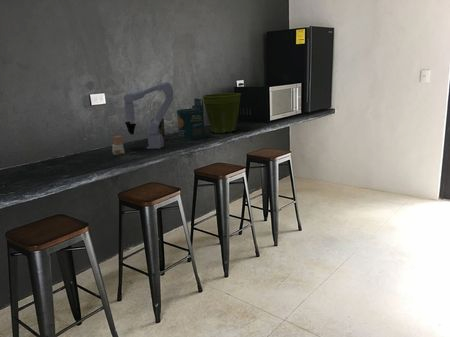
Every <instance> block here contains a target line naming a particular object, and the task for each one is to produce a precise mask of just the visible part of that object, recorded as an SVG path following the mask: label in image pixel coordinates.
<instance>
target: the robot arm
mask: <svg viewBox="0 0 450 337" xmlns="http://www.w3.org/2000/svg"><path fill="white" fill-rule="evenodd" d="M156 91H159V92H163V93H164V96H165V99H164V101H163V102H162V104H161V106H160V108H159V110H158V111H157V114H156V115H155V117H154V118H153V119H154V120H153V122H152V123H151V122H150V123H149V124H148V126H147V129H146V130H147V142H148V146H147V147H146V149H161V148H163V147H165V144H164V141H163V136H162V134H159V133H158V132H157V129H158V126H159V124H160V122H161V120H162V119H163V118H164V117H165V114H167V112H168V110H169V107H170V106H171V105H172V103H173V101H174V98H175V96H174V89H173V87H172V84H171V83H170V82H168V81H165V82H161V83H156V84H154V85H151V86H149V87H146V88H145V89H142V88H136V89H135V90H133V91H129V93H126V94H124V95H123V101H124V115H125V116H124V117H125V119H123V122H124V123H125V125H126V126H125V127H126V128H127V131H128V133H129V134H130V135H135V129H136V125H137V123H135V121H136V119H135V107H134V101H138V100H140V99H143V98H145V96H146V95H147V94H150V93H152V92H156Z"/></svg>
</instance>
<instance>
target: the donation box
mask: <svg viewBox="0 0 450 337" xmlns="http://www.w3.org/2000/svg"><path fill="white" fill-rule="evenodd" d="M193 101H194V105H191V108H182V109H177V110H176V115H177V125H178V126H177V127H178V140H180V141H185V142H191V141H198V139H199V140H205V139H204V138H206V134H205V118H204V113H205V112H204V108H205V107H204V100H203V98H202V99H201V98H197V97H196V98H195V97H194V99H193Z"/></svg>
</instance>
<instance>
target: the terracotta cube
mask: <svg viewBox="0 0 450 337" xmlns="http://www.w3.org/2000/svg"><path fill="white" fill-rule="evenodd" d="M111 138H112V145H121V144H123V145H124V139H123V135H115V136H112V137H111Z"/></svg>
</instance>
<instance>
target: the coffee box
mask: <svg viewBox="0 0 450 337" xmlns="http://www.w3.org/2000/svg"><path fill="white" fill-rule="evenodd" d="M164 119H165V118H164V117H163V119H162V120H161V122H160V124H159V126H158V129H157V132H158V133H159V134H162V136H163V142H164V141H166V130H165V129H166V128H165V120H164ZM153 120H154V118H153V119H151V120H150V121H151V122H150V124H151V123H152V122H153Z"/></svg>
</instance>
